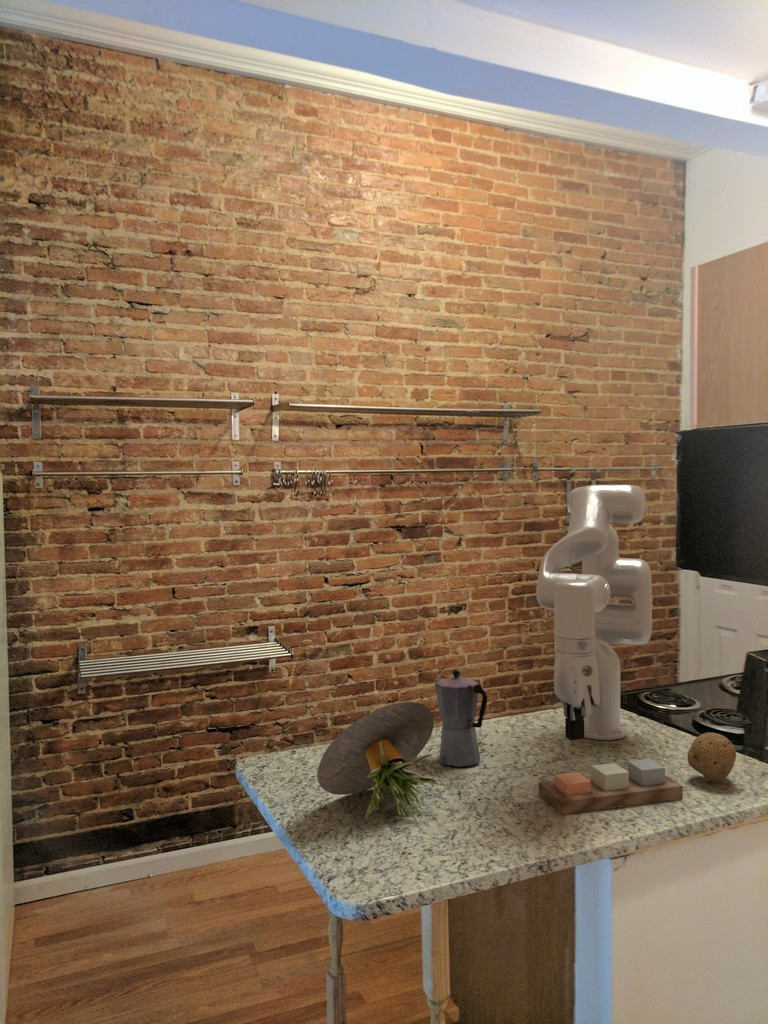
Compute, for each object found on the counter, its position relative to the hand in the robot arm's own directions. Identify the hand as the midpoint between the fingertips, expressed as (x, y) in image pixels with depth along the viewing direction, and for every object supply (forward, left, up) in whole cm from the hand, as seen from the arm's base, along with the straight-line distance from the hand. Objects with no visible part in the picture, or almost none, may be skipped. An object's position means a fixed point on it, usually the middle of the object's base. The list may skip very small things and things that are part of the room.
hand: (574, 738), depth 152 cm
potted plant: (-23, -29, -12) cm, 39 cm away
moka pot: (-28, 0, -12) cm, 31 cm away
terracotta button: (+1, -2, -11) cm, 11 cm away
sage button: (+5, +5, -10) cm, 12 cm away
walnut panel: (+5, +5, -12) cm, 14 cm away
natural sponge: (+16, +26, -12) cm, 33 cm away
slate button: (+9, +12, -10) cm, 18 cm away
